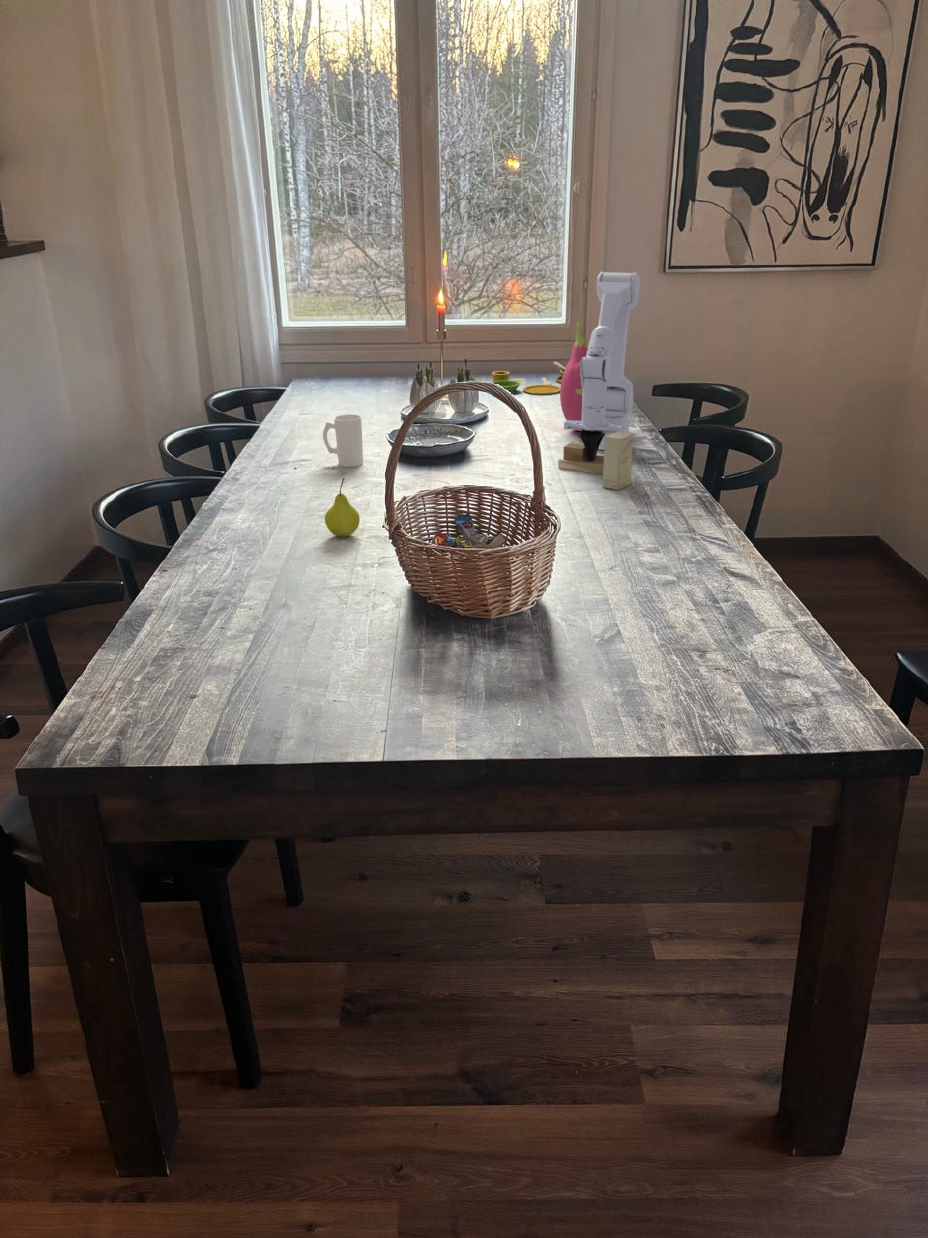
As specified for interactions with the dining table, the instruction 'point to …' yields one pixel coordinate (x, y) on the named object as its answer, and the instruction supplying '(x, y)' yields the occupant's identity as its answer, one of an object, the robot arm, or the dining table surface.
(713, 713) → the dining table surface
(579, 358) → the pitaya
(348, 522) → the fruit
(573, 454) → the block
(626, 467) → the skincare box
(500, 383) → the tableware set
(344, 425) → the mug
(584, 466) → the light wooden stepped bars
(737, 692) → the dining table surface
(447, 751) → the dining table surface
